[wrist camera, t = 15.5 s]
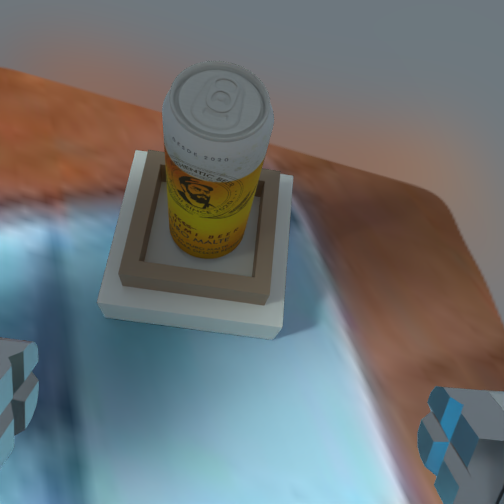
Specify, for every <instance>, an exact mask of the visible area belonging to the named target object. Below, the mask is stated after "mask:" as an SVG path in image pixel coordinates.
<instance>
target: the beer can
mask: <svg viewBox="0 0 504 504" xmlns="http://www.w3.org/2000/svg"><path fill="white" fill-rule="evenodd" d="M162 116H163V132H164V149H165V166H166V182H167V199H168V216H169V229H170V233H171V236H172V238H173V240H174V242H175V243H176V244H177V246H178V247H179V248H180V249H181V250H183V251H184V252H186V253H187V254H189V255H191V256H194V257H197V258H202V259H215V258H219V257H223V256H225V255H227V254H229V253H230V252H232V251H233V250H234V249H235V248H236V247H237V246H238V245H239V244H240V242H241V240H242V238H243V236H244V232H245V228H246V225H247V221H248V217H249V214H250V210H251V206H252V203H253V199H254V195H255V192H256V188H257V184H258V181H259V177H260V173H261V170H262V166H263V162H264V159H265V155H266V151H267V147H268V144H269V140H270V136H271V133H272V129H273V124H274V114H273V110H272V106H271V104H270V98H269V94H268V91H267V89H266V87H265V86H264V84H263V83H262V82H261V80H260V79H259V78H258V77H256V76H255V75H254V74H253V73H252V72H250V71H249V70H247V69H245V68H243V67H241V66H239V65H236V64H233V63H228V62H222V61H207V62H202V63H198V64H195V65H192V66H190V67H188V68H186V69H185V70H183V71H182V72H181V73H180V74H179V75H178V76H177V77H176V78H175V80H174V82H173V83H172V86H171V89H170V90H169V92H168V93H167V95H166V97H165V100H164V103H163V108H162Z"/></svg>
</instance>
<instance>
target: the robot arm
mask: <svg viewBox="0 0 504 504" xmlns="http://www.w3.org/2000/svg"><path fill="white" fill-rule="evenodd" d="M38 361H39V359H38V346H37V345H36V343H35V342H33V341H25V340H17V339H9V338H2V337H0V470H1V468H2V467H3V465H4V463H5V462H6V460H7V458H8V457H9V455H10V454H11V452H12V450H13V449H14V436H15V435H16V434H18V433H20V432H22V431H23V430H25V429H26V427H27V426H28V424H29V422H30V420H31V419H32V416H33V413H34V410H35V408H36V405H37V400H38V393H39V380H38V379H37V377H36V376H35V375H34V374H33V372H32V370H33V368H34V367H35V366H36V364H37V363H38ZM428 405H429V407H430V409H431V412H430V413H429V414H428V415H426V416H425V417H424V418H423V419H421V423H420V426H419V430H418V450H419V454H420V457H421V459H422V461H423V464H424V466H425V467H426V468H427V469H429V470H430V471H431V472H432V473H433V474H435V475H436V476H437V477H436V480H435V483H434V486H435V488H436V490H437V492H438V494H439V496H440V498H441V500H442V502H443V504H504V391H490V390H473V389H462V388H450V387H439V386H436V387H435V388H434V389H433V390H432V392H431V394H430V396H429V399H428Z"/></svg>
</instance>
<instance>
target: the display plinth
mask: <svg viewBox="0 0 504 504" xmlns="http://www.w3.org/2000/svg"><path fill="white" fill-rule="evenodd" d="M292 187H293V176H291V175H285V174H280V171H275V170H269V169H263V168H262V170H261V173H260V177H259V181H258V184H257V188H256V192H255V195H254V199H253V203H252V206H251V210H250V214H249V217H248V221H247V225H246V228H245V232H244V236H243V238H242V240H241V242H240V244H239V245H238V246H237V247H236V248H235V249H234V250H233V251H232V252H230V253H229V254H227V255H225V256H223V257H219V258H215V259H202V258H197V257H194V256H191V255H189V254H187V253H186V252H184V251H183V250H181V249H180V248H179V247H178V246H177V244H176V243H175V242H174V240H173V238H172V236H171V233H170V229H169V216H168V199H167V182H166V166H165V152H159V151H153V150H148V152H145V151H139V150H136V152H135V155H134V159H133V163H132V167H131V171H130V175H129V179H128V183H127V187H126V190H125V194H124V198H123V202H122V206H121V210H120V214H119V218H118V221H117V225H116V229H115V233H114V237H113V241H112V245H111V249H110V253H109V256H108V260H107V264H106V268H105V272H104V276H103V280H102V284H101V288H100V291H99V295H98V299H97V304H98V306H99V308H100V309H101V311H102V313H103V315H104V317H105V318H112V319H119V320H127V321H134V322H142V323H149V324H157V325H164V326H172V327H179V328H187V329H194V330H202V331H209V332H217V333H224V334H232V335H239V336H247V337H254V338H262V339H269V340H273V339H274V338H275V337H276V335H277V334H278V333H279V331H280V330H281V329H282V326H283V312H284V298H285V284H286V270H287V256H288V242H289V229H290V215H291V201H292Z"/></svg>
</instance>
